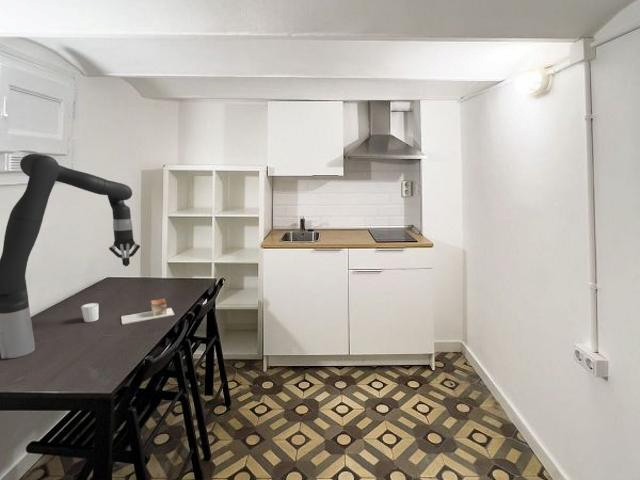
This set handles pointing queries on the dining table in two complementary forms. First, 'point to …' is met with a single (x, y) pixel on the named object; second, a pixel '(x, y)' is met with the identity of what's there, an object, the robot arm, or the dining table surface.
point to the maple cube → (159, 307)
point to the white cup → (90, 312)
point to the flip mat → (143, 316)
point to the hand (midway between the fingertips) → (126, 265)
